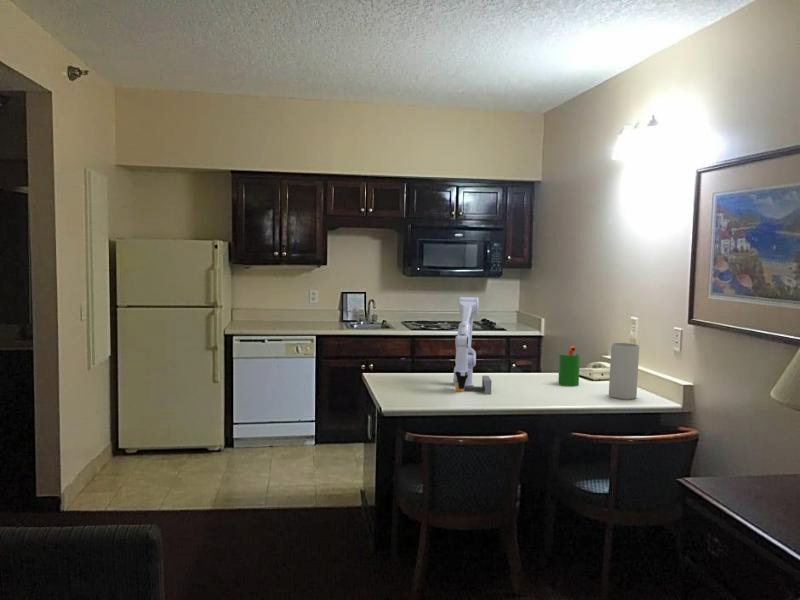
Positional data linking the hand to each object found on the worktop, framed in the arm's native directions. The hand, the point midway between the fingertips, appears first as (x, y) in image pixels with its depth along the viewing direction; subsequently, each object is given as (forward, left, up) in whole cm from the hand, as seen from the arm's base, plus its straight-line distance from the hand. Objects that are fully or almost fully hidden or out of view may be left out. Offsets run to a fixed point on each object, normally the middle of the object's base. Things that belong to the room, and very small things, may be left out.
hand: (461, 387), depth 316 cm
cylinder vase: (+76, -4, -2) cm, 76 cm away
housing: (+12, 0, -1) cm, 12 cm away
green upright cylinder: (+57, +21, -2) cm, 61 cm away
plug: (+4, 0, -1) cm, 5 cm away
